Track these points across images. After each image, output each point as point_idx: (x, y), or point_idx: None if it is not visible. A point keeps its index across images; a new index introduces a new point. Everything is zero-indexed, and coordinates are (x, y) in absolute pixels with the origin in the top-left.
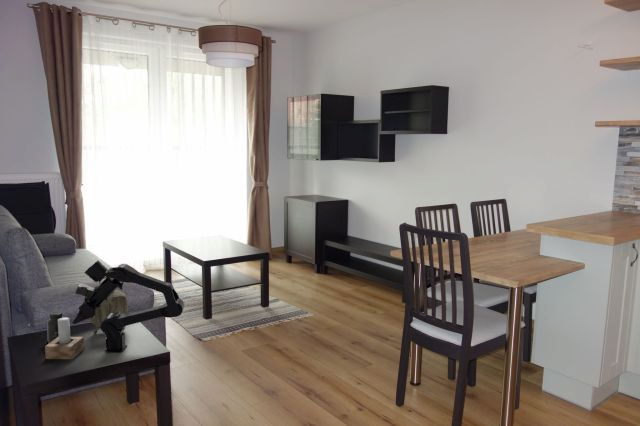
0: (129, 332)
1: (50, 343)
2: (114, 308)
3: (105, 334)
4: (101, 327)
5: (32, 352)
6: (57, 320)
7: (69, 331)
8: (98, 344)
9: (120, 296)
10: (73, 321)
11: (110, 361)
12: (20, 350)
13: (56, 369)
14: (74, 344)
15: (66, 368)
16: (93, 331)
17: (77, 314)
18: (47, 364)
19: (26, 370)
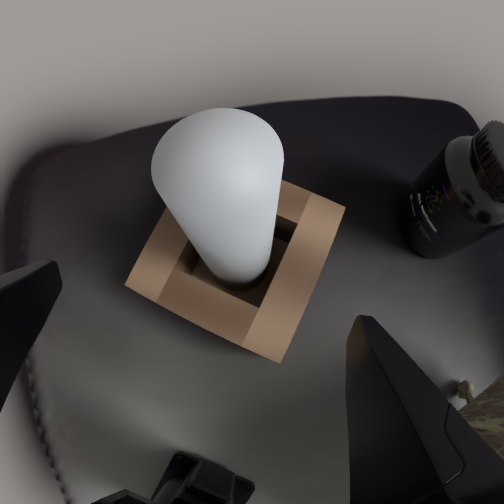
0: None
1: None
2: None
3: (115, 493)
4: (121, 502)
5: (315, 136)
6: (470, 176)
7: (211, 259)
8: (311, 425)
9: None
10: (30, 269)
11: (72, 441)
12: (349, 104)
13: (80, 236)
14: (159, 304)
15: (70, 272)
16: (465, 383)
17: (358, 324)
18: (145, 197)
19: (130, 138)
